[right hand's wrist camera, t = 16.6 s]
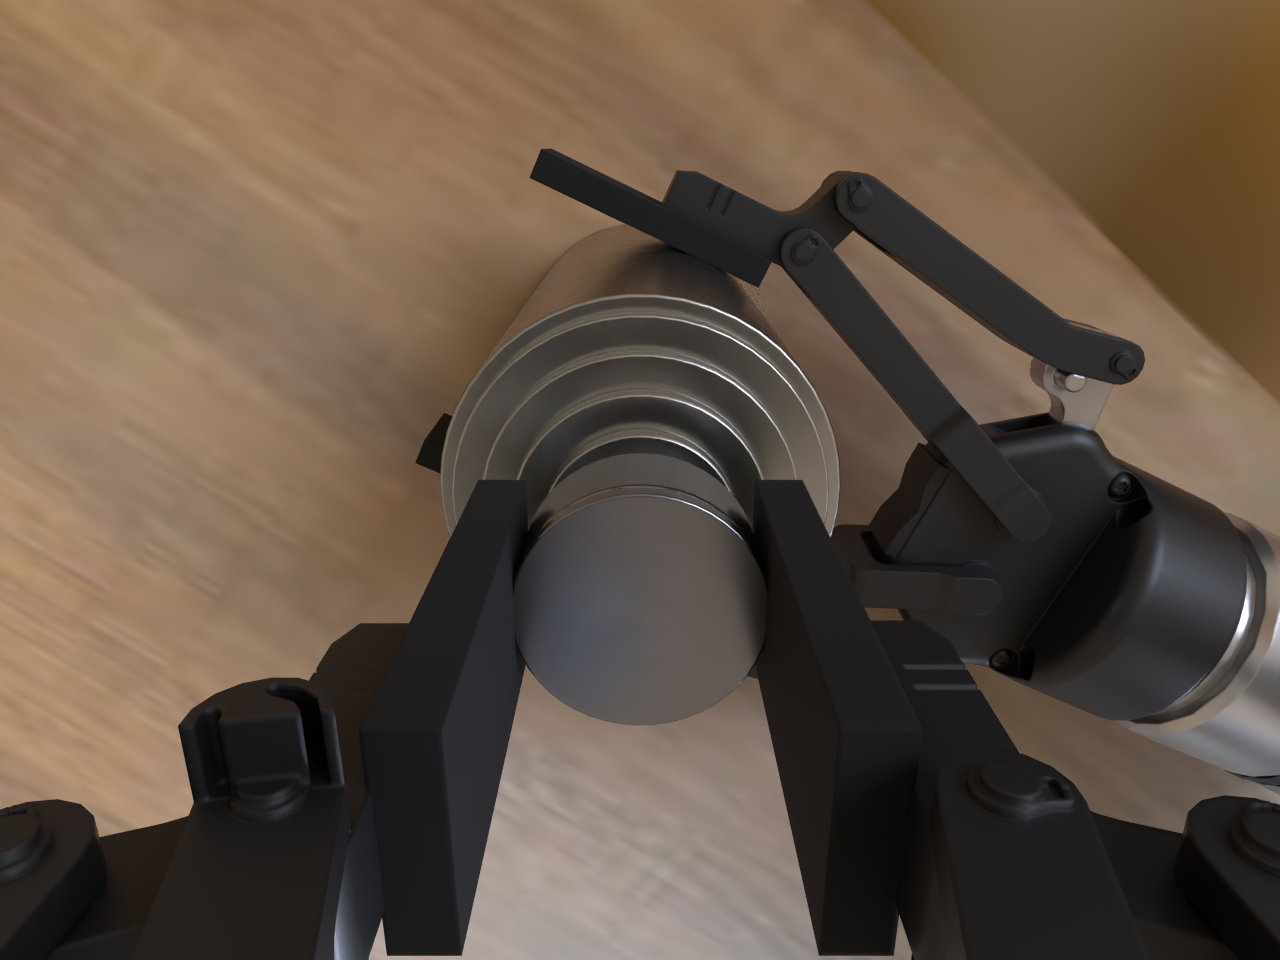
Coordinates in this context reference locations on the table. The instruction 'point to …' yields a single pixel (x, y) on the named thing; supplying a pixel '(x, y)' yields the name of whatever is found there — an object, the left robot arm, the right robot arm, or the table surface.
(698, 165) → the table surface
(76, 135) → the table surface
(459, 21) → the table surface
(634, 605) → the cap
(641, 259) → the bottle
